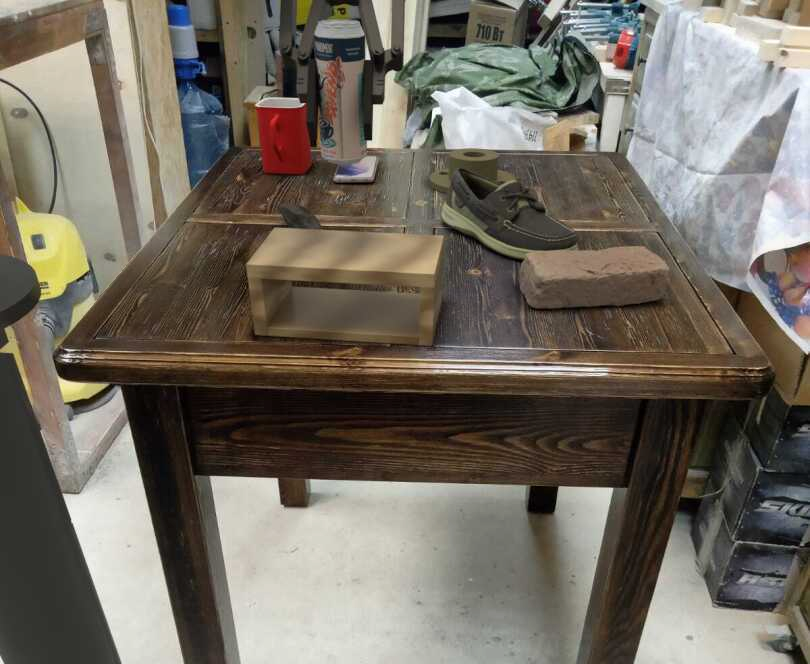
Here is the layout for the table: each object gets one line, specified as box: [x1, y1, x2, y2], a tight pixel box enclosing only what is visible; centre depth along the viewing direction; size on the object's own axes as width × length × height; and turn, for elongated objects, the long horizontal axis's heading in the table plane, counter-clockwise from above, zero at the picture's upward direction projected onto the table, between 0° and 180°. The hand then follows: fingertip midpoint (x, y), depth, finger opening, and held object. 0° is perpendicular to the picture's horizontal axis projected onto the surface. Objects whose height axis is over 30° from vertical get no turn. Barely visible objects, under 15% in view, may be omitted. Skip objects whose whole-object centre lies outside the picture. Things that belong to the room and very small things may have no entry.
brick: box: [518, 245, 670, 310], centre depth 93 cm, size 17×8×5 cm, turn 98°
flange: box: [428, 147, 517, 194], centre depth 131 cm, size 5×15×15 cm
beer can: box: [314, 18, 368, 165], centre depth 76 cm, size 5×5×12 cm
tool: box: [276, 202, 326, 230], centre depth 108 cm, size 21×8×3 cm, turn 29°
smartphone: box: [333, 155, 379, 184], centre depth 137 cm, size 7×1×15 cm
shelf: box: [245, 227, 445, 347], centre depth 86 cm, size 20×12×8 cm, turn 83°
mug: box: [254, 96, 313, 176], centre depth 134 cm, size 12×8×11 cm
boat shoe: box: [440, 167, 579, 261], centre depth 107 cm, size 10×25×8 cm, turn 46°
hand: (339, 131), depth 74 cm, fingers closed on beer can, 5 cm apart
